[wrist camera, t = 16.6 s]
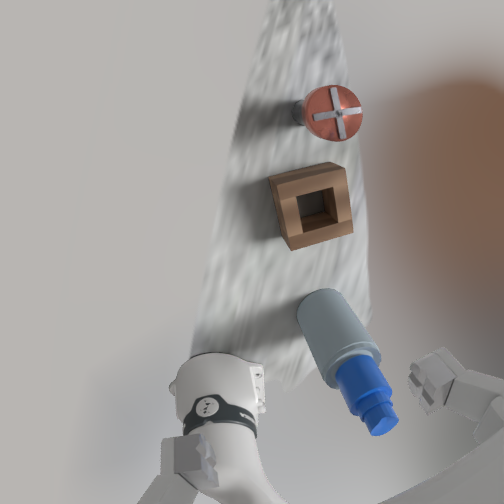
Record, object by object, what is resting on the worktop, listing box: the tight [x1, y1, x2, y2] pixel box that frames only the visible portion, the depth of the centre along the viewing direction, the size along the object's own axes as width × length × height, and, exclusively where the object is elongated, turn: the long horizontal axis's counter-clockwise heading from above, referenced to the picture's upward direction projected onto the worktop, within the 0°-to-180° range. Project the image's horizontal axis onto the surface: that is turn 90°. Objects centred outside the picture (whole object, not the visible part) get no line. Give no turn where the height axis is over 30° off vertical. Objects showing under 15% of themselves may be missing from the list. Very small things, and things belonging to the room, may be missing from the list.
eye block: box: [268, 162, 353, 251], centre depth 40 cm, size 9×9×5 cm
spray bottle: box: [297, 288, 399, 436], centre depth 40 cm, size 9×9×25 cm
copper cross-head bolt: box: [292, 85, 362, 142], centre depth 32 cm, size 6×6×11 cm
